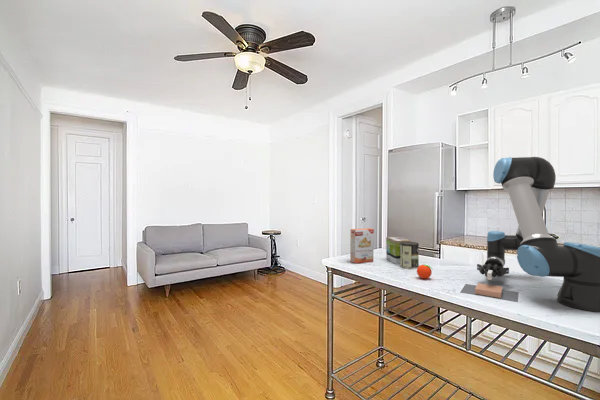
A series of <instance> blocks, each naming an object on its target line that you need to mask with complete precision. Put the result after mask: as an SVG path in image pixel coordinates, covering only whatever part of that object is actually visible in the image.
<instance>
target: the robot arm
mask: <svg viewBox="0 0 600 400" xmlns="http://www.w3.org/2000/svg"><path fill="white" fill-rule="evenodd" d="M492 173H493V177H492V178H493V181H494V182H495V183H496V184H501V186H502V187H501V188H502V189H503V190H504V191H506V192H507V194H508V195H509V196H508V197H509V199H510V202H511V206H512V208H513V211H514V216H515V218H516V220H517V224H518V226H517V230H516V232H515V234H514V235H513V234H512V235H511V234H509V235H508V234H505V232H504V231H500V230H499V231H498V230H490V231H488V232H487V238H486V245H487V246H486V248H487V250H486V251H487V252H486V260H485V262H484V264H483V265H482V264H479V263H477V264H476V270H477V271H479V273H480V274H481V275H484V276H485V277H486V280H490V281H492V278H495V277H496V276H497V277H499V278H500V277H503V276H506V275H508V274H510V267H505V264H506V259H505V258H506V257H505V254H506V253H505V252H506V251H516V254H517V255H516V259H517V262H518V265H519V267H520V268H521V270H522V271H523V272H525V273H526V274H527V275H528V276H529V275H530V276H533V277H541V278H542V277H543V278H544V277H545V278H546V277H553V278H554V277H556V278H557V277H558V278H563V281H562V283H561V286H560V288H559V291H558V293H557V295H556V296H557V297H556V298H557V302H558V303H560V304H562V305H564V306H567V307H570V308H574V309H577V310H582V311H583V310H584V311H589V312H594V313H595V312H598V313H600V246H596V245H591V244H586V243H585V244H583V243H579V242H578V243H577V242H569V241H564V242H563V245H558V241H557V239H556V238H555V237H553V236H552V235H550V233H549V230H548V228H547V225H546V223H545V220H544V217H543V212H544V209H545V206H546V203H547V200H548V196H549V194H550V191H551V190H553V189H554V188H555V184H556V179H557V178H556V171H555V169H554V167H553V165H552V164H551V163H550V161H548V160H546V159H545V158H543V157H539V156H526V157H525V156H522V157H519V156H518V157H512V156H509V157H501V158H500V159H498V161H496V164H495V166H494V169H493V172H492Z"/></svg>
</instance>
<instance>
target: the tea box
mask: <svg viewBox="0 0 600 400" xmlns="http://www.w3.org/2000/svg"><path fill="white" fill-rule="evenodd" d="M385 238H386V239H385V242H386V243H385V244H386V245H385V247H386V248H385V249H386V251H385V253H386V258H385V259H386V260H387V261H389V262H392V263H393V264H395V265H400V242H412V241H411V240H410V239H407V238H404V237H401V236H388V237H387V236H386V237H385Z"/></svg>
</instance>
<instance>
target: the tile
mask: <svg viewBox="0 0 600 400" xmlns="http://www.w3.org/2000/svg"><path fill="white" fill-rule="evenodd" d="M503 290H504V288H503V286H501V285H500V286H499V285H495V284H494V285H493V284H488V283H487V284H486V283H479V282H478V283H477V284H476V288H475V294H479V295H485V296H491V297H497V298H501V296H502V292H503Z"/></svg>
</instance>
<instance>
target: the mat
mask: <svg viewBox="0 0 600 400" xmlns="http://www.w3.org/2000/svg"><path fill="white" fill-rule="evenodd" d="M476 286H477V284H476V285H475V284H471V283H470V284H468V283H465V284H464V285H463V287H462V289H461V290H460V292H459V293H462V294H466V295H474V296H479V297H484V298H491V299H497V300H501V301H507V302H513V303H519V291H514V290H509V289H503V292H502V296H501V298H497V297H491V296H485V295H479V294H475V288H476Z"/></svg>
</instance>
